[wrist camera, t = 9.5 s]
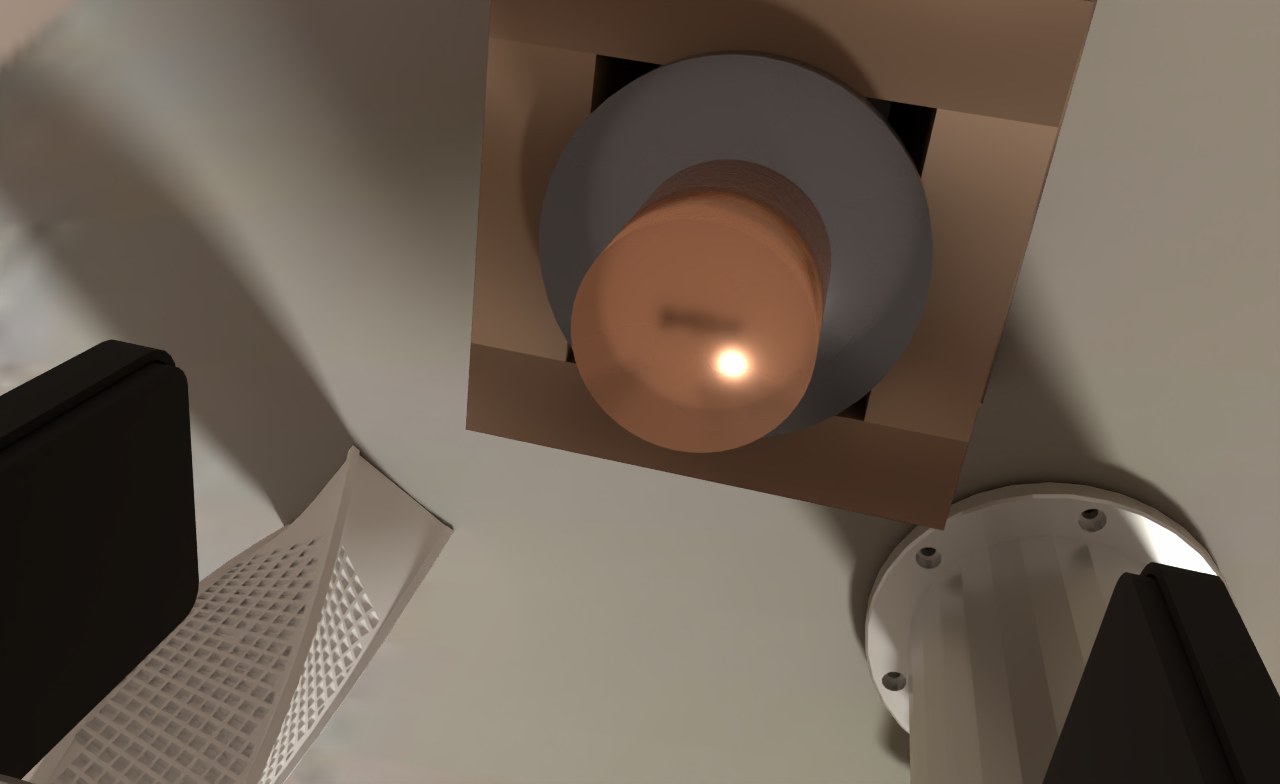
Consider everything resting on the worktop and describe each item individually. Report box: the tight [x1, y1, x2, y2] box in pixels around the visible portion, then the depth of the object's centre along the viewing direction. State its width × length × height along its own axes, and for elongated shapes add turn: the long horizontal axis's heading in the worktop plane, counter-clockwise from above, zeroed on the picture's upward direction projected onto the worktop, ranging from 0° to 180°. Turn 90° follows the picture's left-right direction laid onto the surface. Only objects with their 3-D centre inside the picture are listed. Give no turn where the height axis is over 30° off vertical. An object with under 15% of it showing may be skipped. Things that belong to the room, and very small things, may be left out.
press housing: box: [466, 0, 1097, 531], centre depth 27 cm, size 16×15×16 cm
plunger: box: [539, 50, 933, 453], centre depth 24 cm, size 7×7×18 cm
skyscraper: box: [27, 445, 454, 784], centre depth 32 cm, size 8×8×28 cm
